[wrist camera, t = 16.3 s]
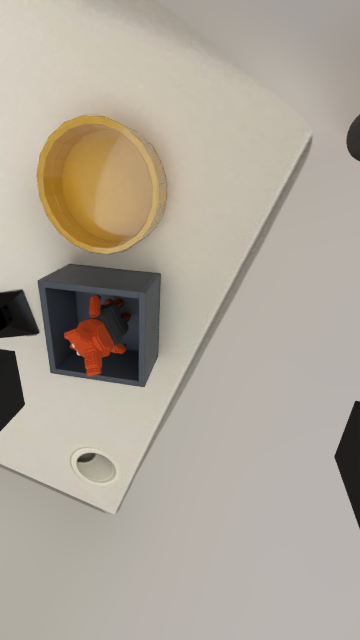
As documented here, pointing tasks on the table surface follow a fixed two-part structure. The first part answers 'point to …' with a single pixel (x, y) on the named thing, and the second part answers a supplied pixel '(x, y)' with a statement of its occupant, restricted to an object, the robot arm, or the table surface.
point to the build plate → (16, 315)
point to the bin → (73, 307)
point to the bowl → (101, 184)
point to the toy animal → (99, 333)
